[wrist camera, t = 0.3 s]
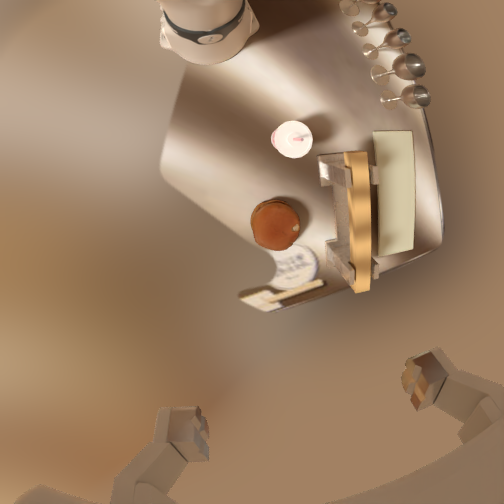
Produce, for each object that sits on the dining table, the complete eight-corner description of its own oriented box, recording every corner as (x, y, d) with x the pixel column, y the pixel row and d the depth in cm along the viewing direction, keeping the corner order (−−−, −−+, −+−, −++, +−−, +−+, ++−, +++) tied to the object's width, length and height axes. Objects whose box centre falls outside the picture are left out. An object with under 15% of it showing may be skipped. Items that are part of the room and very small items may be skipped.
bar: (343, 151, 43) (350, 153, 40) (359, 150, 43) (367, 151, 40) (350, 285, 53) (355, 293, 51) (363, 282, 53) (369, 289, 51)
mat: (372, 131, 49) (374, 131, 48) (409, 131, 49) (411, 131, 49) (377, 255, 60) (379, 256, 60) (411, 247, 60) (412, 249, 60)
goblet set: (401, 108, 47) (440, 106, 35) (381, 112, 48) (419, 110, 36) (354, -3, 36) (381, -27, 24) (332, -2, 37) (356, -28, 25)
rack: (316, 155, 51) (338, 160, 40) (353, 151, 51) (381, 157, 40) (326, 266, 60) (345, 293, 50) (358, 259, 60) (381, 284, 50)
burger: (242, 209, 54) (244, 216, 50) (287, 191, 53) (292, 196, 49) (261, 252, 58) (264, 262, 54) (303, 235, 57) (309, 243, 53)
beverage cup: (299, 123, 48) (322, 119, 35) (299, 155, 50) (322, 161, 38) (266, 123, 48) (280, 117, 35) (267, 154, 50) (280, 160, 37)
